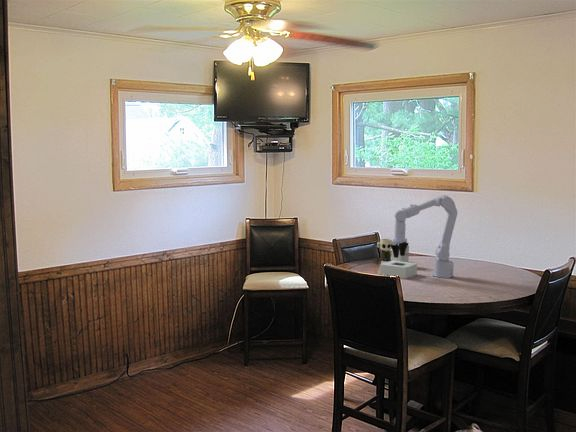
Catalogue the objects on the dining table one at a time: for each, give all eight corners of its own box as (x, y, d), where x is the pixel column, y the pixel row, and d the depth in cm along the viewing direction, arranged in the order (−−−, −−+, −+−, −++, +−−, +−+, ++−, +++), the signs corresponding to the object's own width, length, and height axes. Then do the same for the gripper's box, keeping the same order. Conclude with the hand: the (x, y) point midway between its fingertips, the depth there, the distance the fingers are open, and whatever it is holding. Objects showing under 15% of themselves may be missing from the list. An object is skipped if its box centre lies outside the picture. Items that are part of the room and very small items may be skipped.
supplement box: (400, 268, 362) (401, 246, 360) (390, 265, 367) (391, 244, 366) (408, 266, 366) (409, 245, 365) (399, 264, 372) (399, 243, 370)
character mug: (377, 261, 381) (377, 240, 380) (376, 259, 388) (376, 238, 387) (395, 261, 380) (395, 240, 379) (393, 259, 388) (394, 238, 386)
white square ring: (416, 274, 345) (417, 263, 344) (405, 278, 333) (405, 267, 332) (392, 270, 354) (392, 260, 353) (380, 275, 342) (380, 264, 341)
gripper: (399, 229, 349) (398, 253, 350) (387, 232, 337) (386, 257, 339) (410, 231, 344) (410, 255, 346) (399, 234, 333) (398, 259, 334)
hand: (399, 256), depth 342 cm, fingers open, 7 cm apart
